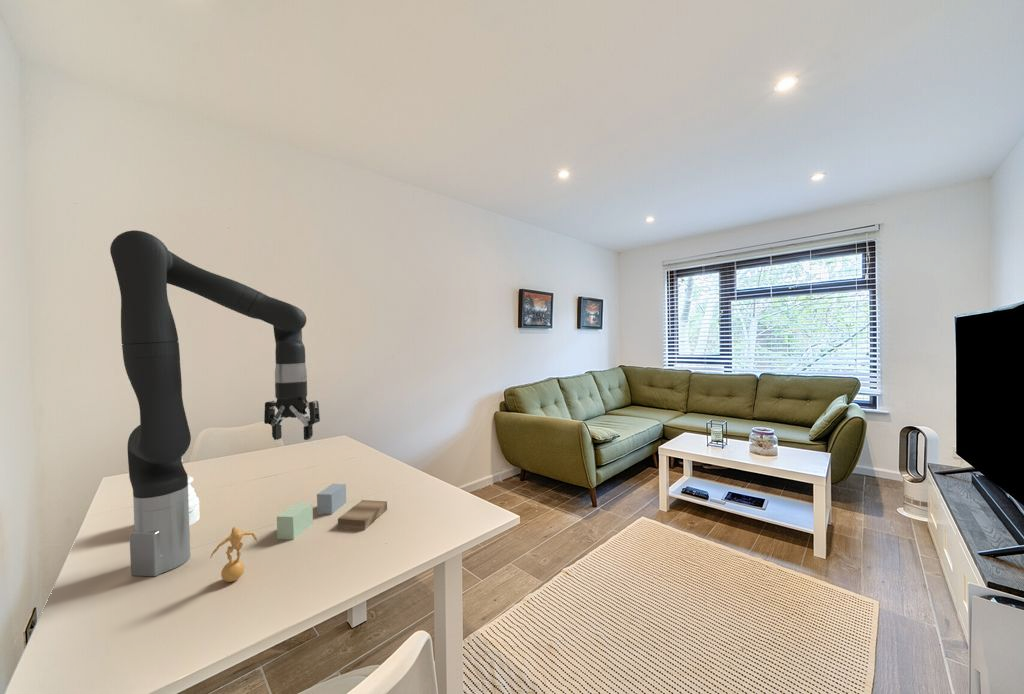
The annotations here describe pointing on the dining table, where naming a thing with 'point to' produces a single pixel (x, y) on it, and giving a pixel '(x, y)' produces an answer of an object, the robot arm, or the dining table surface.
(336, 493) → the slate brick
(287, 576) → the dining table surface
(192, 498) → the honey pot
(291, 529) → the sage brick
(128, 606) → the dining table surface
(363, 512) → the walnut brick
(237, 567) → the figurine
